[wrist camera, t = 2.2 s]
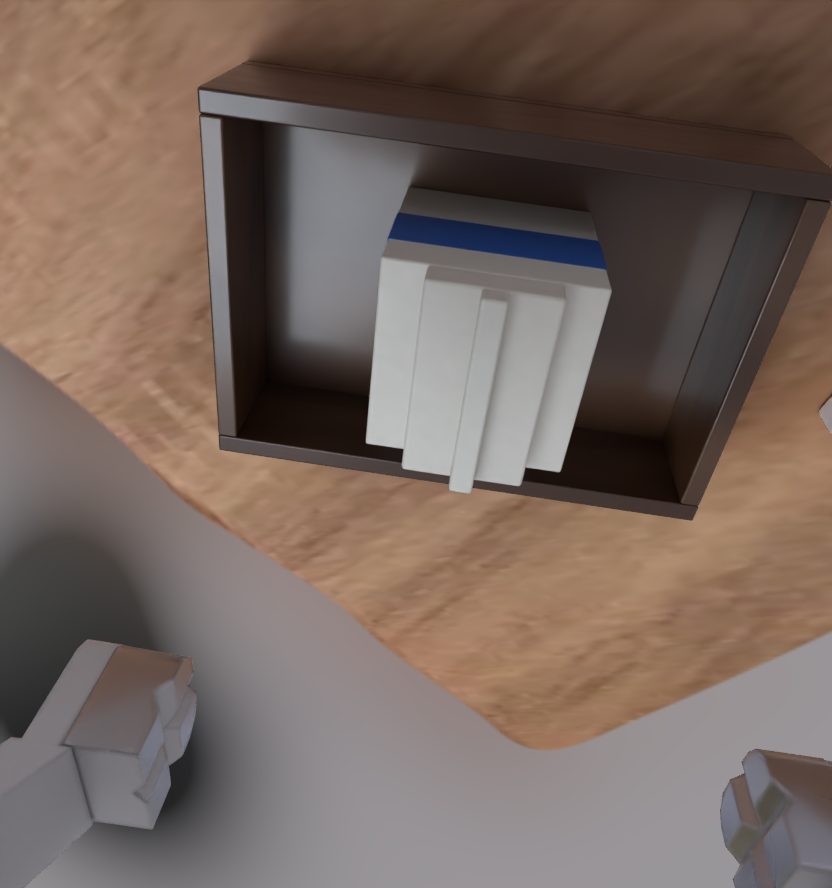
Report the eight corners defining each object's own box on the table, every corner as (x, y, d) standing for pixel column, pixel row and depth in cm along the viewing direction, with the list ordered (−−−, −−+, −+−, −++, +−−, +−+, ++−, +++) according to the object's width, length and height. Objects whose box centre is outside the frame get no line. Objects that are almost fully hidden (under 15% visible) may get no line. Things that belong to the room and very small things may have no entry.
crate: (245, 60, 21) (196, 86, 17) (790, 135, 20) (844, 176, 17) (254, 386, 27) (219, 450, 24) (670, 447, 26) (692, 521, 23)
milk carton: (407, 185, 22) (369, 281, 16) (592, 211, 21) (622, 318, 16) (391, 348, 25) (355, 478, 19) (552, 371, 25) (564, 509, 19)
